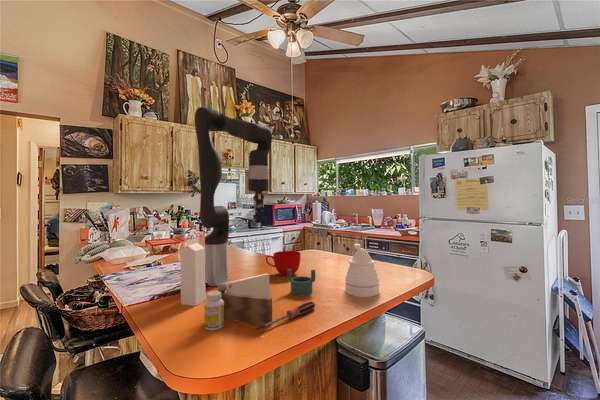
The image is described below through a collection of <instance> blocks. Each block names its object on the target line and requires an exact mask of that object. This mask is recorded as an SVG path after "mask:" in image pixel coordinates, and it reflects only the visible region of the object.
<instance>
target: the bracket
mask: <svg viewBox="0 0 600 400" xmlns="http://www.w3.org/2000/svg"><path fill="white" fill-rule="evenodd" d="M287 281H288V282H290V294H291V295H293V296H297V297H307V296H310V295H312V294H313V283H314V282H316V269H311V271H310V276H305V275H304V276H302V275H301V276H294V277H293V275H292V269H288V276H287ZM306 295H307V296H306Z"/></svg>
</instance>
